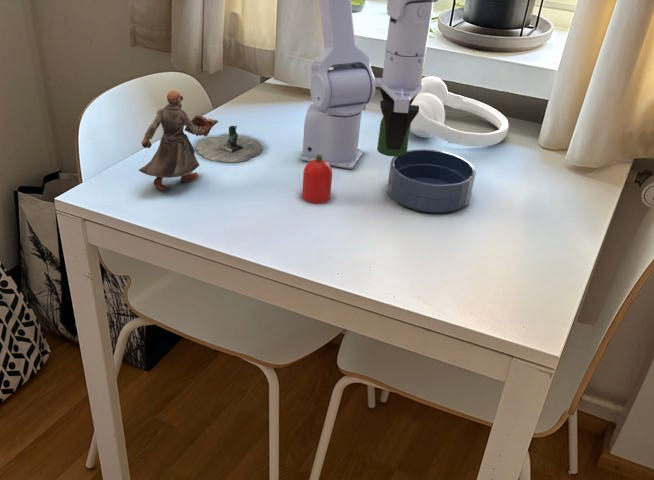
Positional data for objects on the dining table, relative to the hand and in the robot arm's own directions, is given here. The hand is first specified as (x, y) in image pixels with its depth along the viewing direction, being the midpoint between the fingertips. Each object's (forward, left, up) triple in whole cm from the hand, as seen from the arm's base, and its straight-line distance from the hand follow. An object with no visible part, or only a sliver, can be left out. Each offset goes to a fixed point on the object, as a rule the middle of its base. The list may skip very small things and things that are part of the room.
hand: (393, 141), depth 115 cm
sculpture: (-31, +9, -10) cm, 33 cm away
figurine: (-33, -8, -10) cm, 35 cm away
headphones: (+6, +35, -10) cm, 37 cm away
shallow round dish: (+6, +5, -10) cm, 13 cm away
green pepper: (0, 0, -1) cm, 1 cm away
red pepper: (-11, -3, -10) cm, 15 cm away
